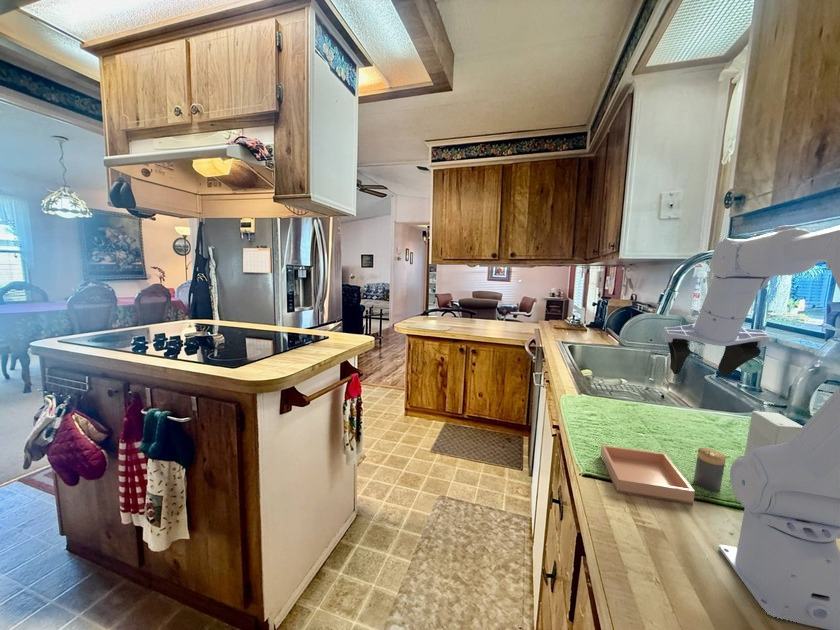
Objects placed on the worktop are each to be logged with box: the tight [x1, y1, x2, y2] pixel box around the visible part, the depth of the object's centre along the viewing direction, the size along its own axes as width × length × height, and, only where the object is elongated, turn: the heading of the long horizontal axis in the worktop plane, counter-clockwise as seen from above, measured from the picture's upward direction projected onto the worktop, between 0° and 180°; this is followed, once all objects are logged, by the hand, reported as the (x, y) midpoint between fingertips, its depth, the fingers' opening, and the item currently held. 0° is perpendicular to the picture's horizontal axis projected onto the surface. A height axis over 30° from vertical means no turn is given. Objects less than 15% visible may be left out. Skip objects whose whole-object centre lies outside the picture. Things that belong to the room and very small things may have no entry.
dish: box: [600, 444, 696, 506], centre depth 60 cm, size 11×11×2 cm
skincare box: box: [743, 410, 804, 456], centre depth 59 cm, size 6×4×12 cm
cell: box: [693, 447, 727, 492], centre depth 58 cm, size 4×4×6 cm
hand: (698, 372), depth 62 cm, fingers open, 7 cm apart
